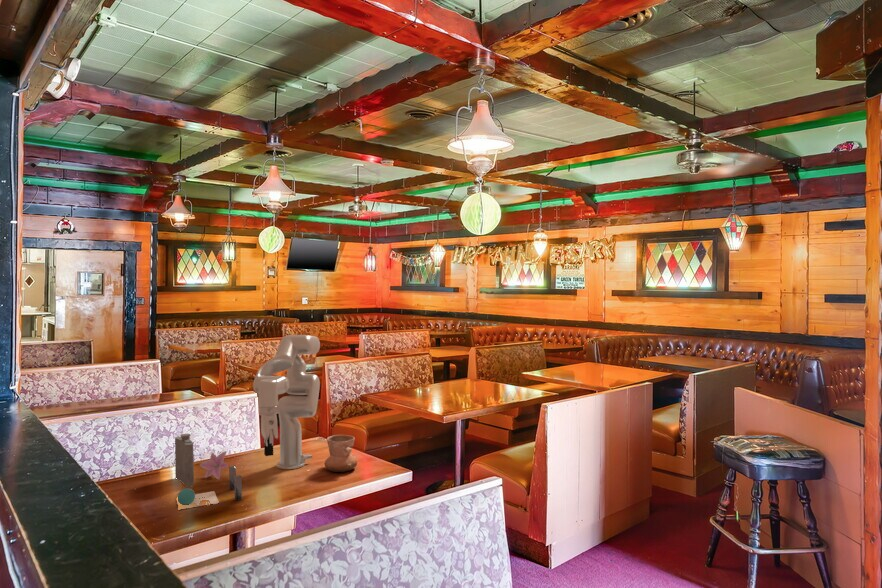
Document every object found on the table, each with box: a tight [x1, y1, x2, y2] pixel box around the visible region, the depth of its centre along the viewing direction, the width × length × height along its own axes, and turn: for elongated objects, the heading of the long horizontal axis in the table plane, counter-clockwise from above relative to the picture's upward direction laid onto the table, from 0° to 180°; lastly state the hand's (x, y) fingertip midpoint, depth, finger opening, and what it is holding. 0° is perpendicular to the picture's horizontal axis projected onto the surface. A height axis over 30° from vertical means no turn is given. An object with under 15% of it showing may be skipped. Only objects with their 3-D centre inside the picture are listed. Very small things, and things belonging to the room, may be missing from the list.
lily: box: [199, 450, 230, 480], centre depth 246 cm, size 12×12×10 cm
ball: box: [177, 487, 196, 505], centre depth 213 cm, size 6×6×6 cm
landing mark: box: [193, 490, 220, 506], centre depth 217 cm, size 14×14×1 cm
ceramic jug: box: [324, 434, 358, 473], centre depth 253 cm, size 18×14×14 cm
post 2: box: [234, 474, 243, 502], centre depth 218 cm, size 3×3×9 cm
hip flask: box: [174, 433, 195, 488], centre depth 237 cm, size 16×4×20 cm, turn 42°
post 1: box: [228, 465, 237, 491], centre depth 229 cm, size 3×3×9 cm
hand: (268, 455), depth 229 cm, fingers closed
